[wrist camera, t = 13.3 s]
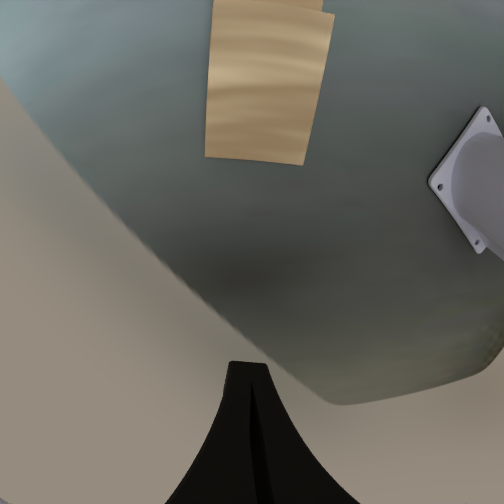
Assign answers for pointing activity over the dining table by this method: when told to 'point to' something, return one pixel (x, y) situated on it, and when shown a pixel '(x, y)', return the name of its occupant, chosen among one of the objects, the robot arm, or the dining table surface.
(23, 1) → the dining table surface
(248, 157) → the domino
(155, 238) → the dining table surface
